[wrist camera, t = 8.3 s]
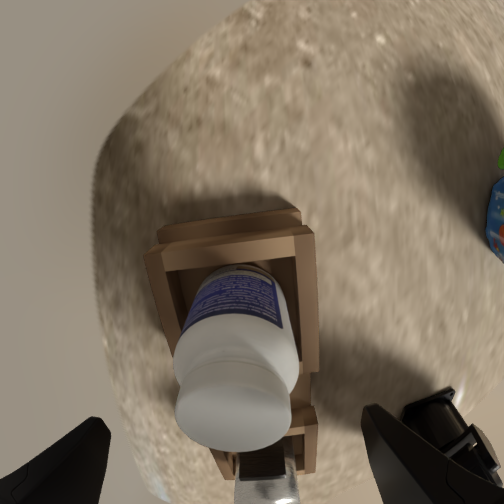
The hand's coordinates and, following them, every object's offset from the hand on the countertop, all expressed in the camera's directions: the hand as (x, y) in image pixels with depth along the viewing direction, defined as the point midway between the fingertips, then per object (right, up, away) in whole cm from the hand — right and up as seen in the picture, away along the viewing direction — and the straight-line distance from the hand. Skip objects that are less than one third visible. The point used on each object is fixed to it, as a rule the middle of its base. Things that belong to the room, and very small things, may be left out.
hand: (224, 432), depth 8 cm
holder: (+1, -4, +12) cm, 13 cm away
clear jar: (+2, -10, +13) cm, 17 cm away
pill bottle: (0, +3, +9) cm, 10 cm away
